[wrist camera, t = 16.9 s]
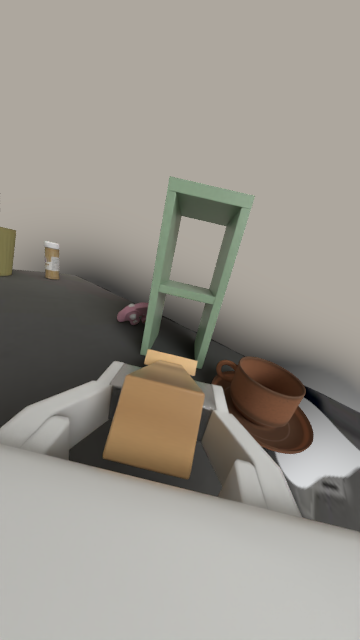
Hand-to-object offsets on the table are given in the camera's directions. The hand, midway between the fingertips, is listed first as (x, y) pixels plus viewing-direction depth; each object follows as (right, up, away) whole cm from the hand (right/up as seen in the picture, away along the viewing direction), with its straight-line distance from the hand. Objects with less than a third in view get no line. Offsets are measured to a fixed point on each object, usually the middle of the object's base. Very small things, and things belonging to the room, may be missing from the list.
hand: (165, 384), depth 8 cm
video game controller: (-10, +2, +33) cm, 35 cm away
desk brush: (-1, -3, +5) cm, 6 cm away
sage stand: (0, -3, +25) cm, 25 cm away
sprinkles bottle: (-50, +20, +58) cm, 79 cm away
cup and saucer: (+10, -9, +13) cm, 19 cm away
